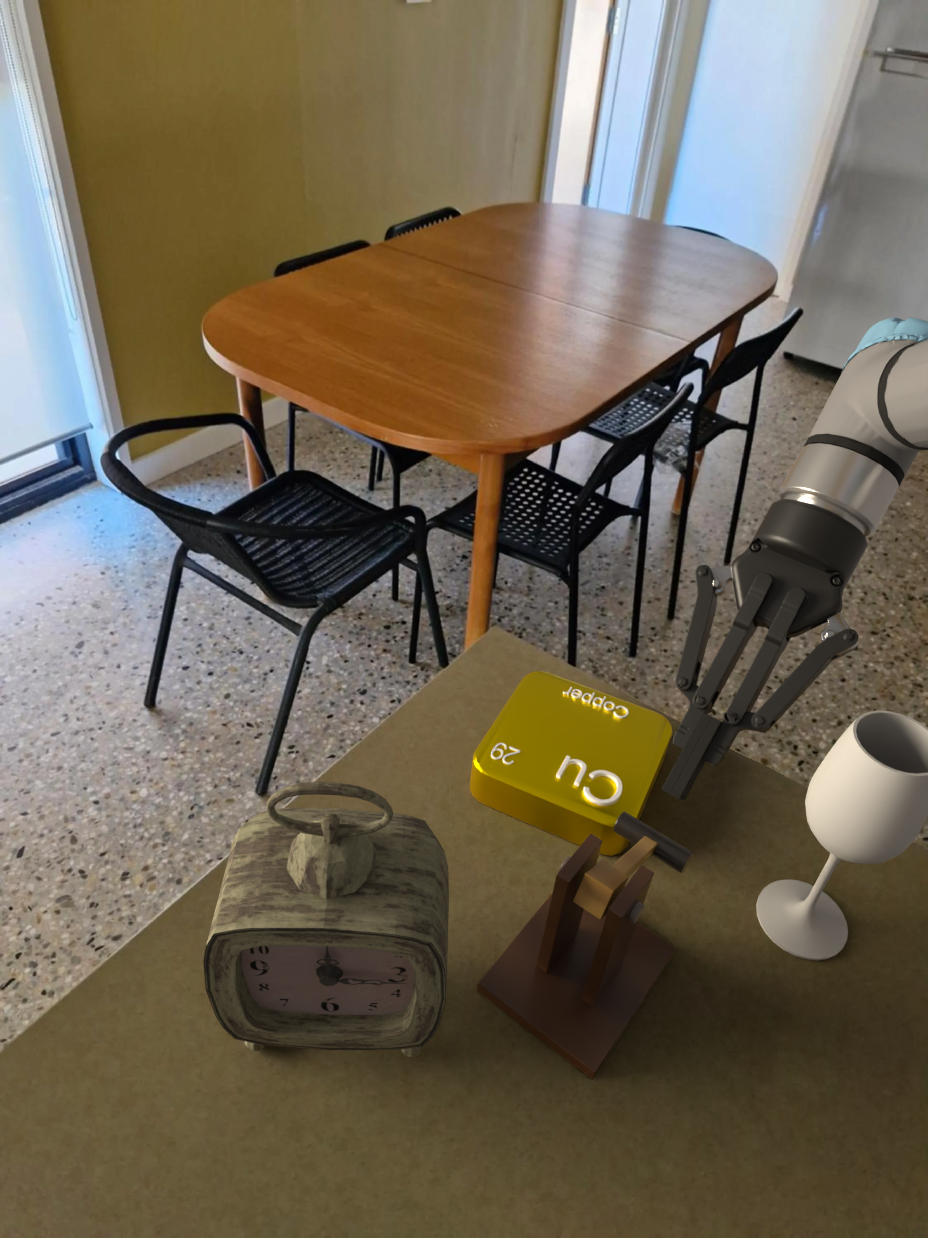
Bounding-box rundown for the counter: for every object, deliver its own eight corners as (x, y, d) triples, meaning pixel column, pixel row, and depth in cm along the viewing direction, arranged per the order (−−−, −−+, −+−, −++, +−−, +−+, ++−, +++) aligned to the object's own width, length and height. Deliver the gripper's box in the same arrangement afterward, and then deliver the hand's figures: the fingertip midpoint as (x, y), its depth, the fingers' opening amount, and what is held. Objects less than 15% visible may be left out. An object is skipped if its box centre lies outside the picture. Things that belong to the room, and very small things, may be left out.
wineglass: (837, 980, 68) (950, 805, 55) (741, 930, 71) (827, 752, 58) (858, 908, 73) (967, 732, 60) (768, 864, 76) (853, 686, 63)
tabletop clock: (223, 1069, 60) (172, 842, 44) (249, 946, 67) (213, 712, 51) (437, 1078, 60) (462, 856, 45) (441, 955, 67) (463, 725, 52)
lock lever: (617, 830, 71) (628, 805, 70) (684, 871, 68) (697, 846, 68) (549, 886, 61) (561, 857, 60) (625, 937, 58) (639, 908, 57)
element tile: (668, 749, 86) (679, 714, 83) (620, 865, 75) (631, 830, 72) (526, 695, 90) (531, 660, 87) (461, 797, 79) (464, 761, 76)
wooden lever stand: (563, 884, 73) (588, 782, 65) (672, 956, 69) (713, 856, 61) (476, 991, 65) (492, 891, 57) (592, 1080, 61) (626, 985, 53)
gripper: (905, 567, 67) (758, 841, 67) (746, 503, 73) (609, 756, 73) (913, 537, 61) (749, 842, 60) (736, 470, 66) (586, 748, 66)
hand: (673, 794), depth 67 cm, fingers closed
